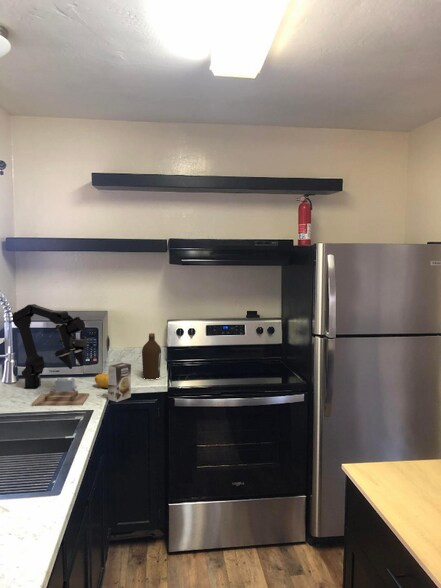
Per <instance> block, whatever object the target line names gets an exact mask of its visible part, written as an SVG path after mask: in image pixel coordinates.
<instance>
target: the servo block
mask: <svg viewBox="0 0 441 588" xmlns="http://www.w3.org/2000/svg"><path fill="white" fill-rule="evenodd" d="M54 382H55V385H53V386H52V390H54V389H55V390H54V391H75V389H77V388H78V385H75V378H72V377H67V378H57V379H55V381H54Z"/></svg>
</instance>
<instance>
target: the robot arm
mask: <svg viewBox="0 0 441 588" xmlns="http://www.w3.org/2000/svg"><path fill="white" fill-rule="evenodd" d="M35 315H37V316H39V317H43V318H46V319H48V320H49V322H52V323H53V324H54V325H55V327H54V329H53V330H54V332H55V331H57V332H58V334H59V337H60V340H59V343H60V344H61V343H62V346H63V348H60V349H58V350H55V352H54V356H55V358H57V359H59V360H60V361H61V362H63V364H65V366H66V367H67V368H68V369H70V370H72V369H73V364H72V360H71V355H72V353H73V356H74V358H75V360H76V361H77V363H78V364H79V366H80V367H82V366H83V365H84V353H85V351H86V350H87V349H88V347H87V343H88V342H89V340H88V338H87V337H86V336H81V337H80V338H77V336H75V335H74V334H77V333H78V332H81V331H83V330H85V328H86V324H85V322H84V321H83V320H82V319H81V318H80V316H76V317H74V318H73V317H72V316H71V315H70V314H69V312H67V311H65V310H53V309H49V308H46V307H45V306H44V307H43V306H40V305H38V304H35V303H33V304H27V305H25V306H24V307H23V308H21V309H19V310H17V311H15V312H13V313H12V316H13V320H12V322H13V325H14V326H15V327H16V328H17V329H18V330H19V333H20V337H21V340H22V345H23V348H24V351H25V354H26V359H25V363H24V365H25V368H24V369H23V370H22V371H21V376H22V377H23V378H24V386H23V389H25V390H26V389H33V390H34V389H38V388H39V387H41V385H42V378H41V376H40V375H42V374H43V373H44V370H45V366H46V362H45V361H44V357H43V355H42V356H40V355H39V354H38V351H37V348H36V346H35V345H36V344H35V341H34V338H33V333H32V331H31V324H32V317H34V316H35Z"/></svg>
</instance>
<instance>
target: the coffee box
mask: <svg viewBox="0 0 441 588" xmlns="http://www.w3.org/2000/svg"><path fill="white" fill-rule="evenodd" d="M107 372H108V373H107V374H108V388H107V400H108V401H113V402H116V403H118V402H120V401H123V400H124V401H125V400H127V399H129V398H131V396H132V391H131V390H132V364H131V363H127V362H126V363H124V362H120V363H116V364H110V365H108V371H107Z"/></svg>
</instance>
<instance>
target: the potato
mask: <svg viewBox="0 0 441 588" xmlns="http://www.w3.org/2000/svg"><path fill="white" fill-rule="evenodd" d="M94 382H95V384H96V385H97V386H98V387H100V388H104V389H108V373H98V374H97V375H95V377H94Z"/></svg>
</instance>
